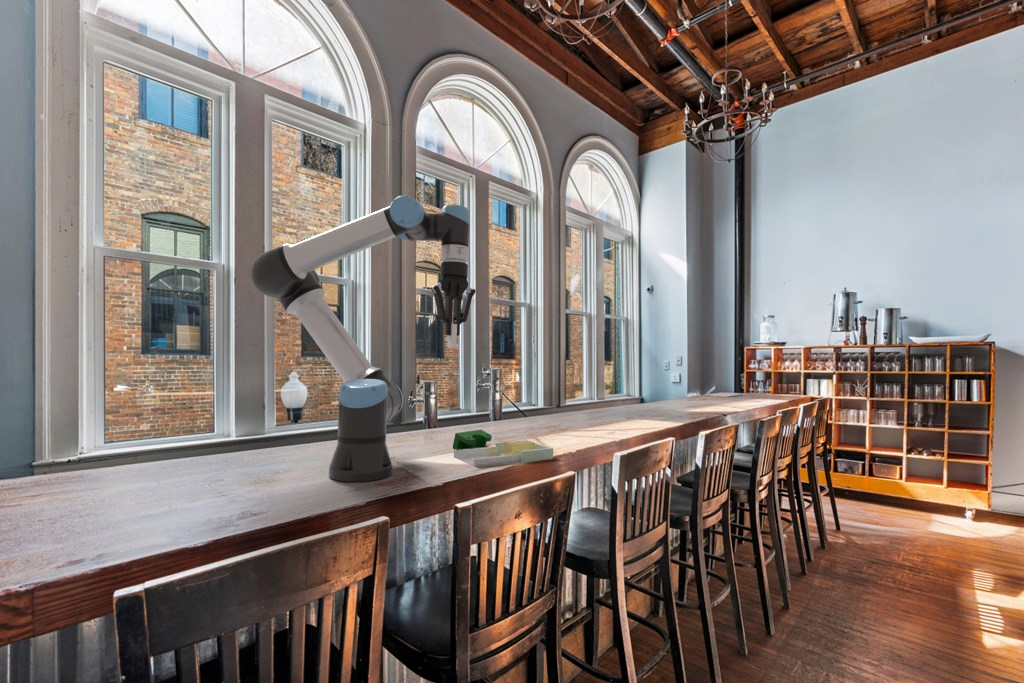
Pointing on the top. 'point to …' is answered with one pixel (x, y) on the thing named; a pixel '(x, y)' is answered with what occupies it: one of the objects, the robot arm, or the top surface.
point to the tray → (530, 452)
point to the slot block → (485, 457)
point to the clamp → (471, 439)
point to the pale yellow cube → (527, 445)
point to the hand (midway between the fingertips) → (451, 347)
